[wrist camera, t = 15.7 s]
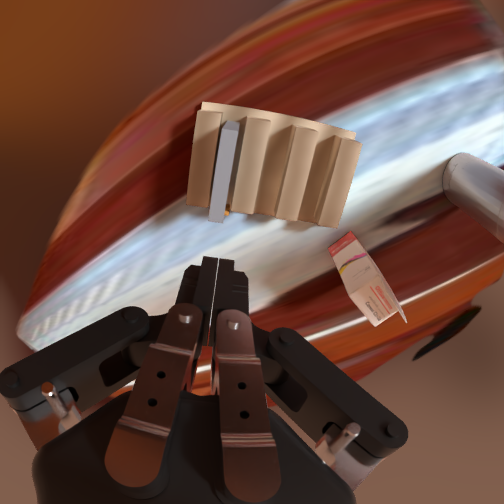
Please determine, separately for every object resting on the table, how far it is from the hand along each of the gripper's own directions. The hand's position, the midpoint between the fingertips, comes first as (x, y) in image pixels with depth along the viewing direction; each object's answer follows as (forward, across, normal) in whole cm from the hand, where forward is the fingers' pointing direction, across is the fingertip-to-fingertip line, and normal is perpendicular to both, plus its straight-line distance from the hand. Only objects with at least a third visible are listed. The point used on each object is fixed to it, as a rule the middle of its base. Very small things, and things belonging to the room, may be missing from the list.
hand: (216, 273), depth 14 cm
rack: (+27, -5, 0) cm, 28 cm away
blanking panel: (+26, +1, 0) cm, 26 cm away
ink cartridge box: (+28, -21, +12) cm, 37 cm away
